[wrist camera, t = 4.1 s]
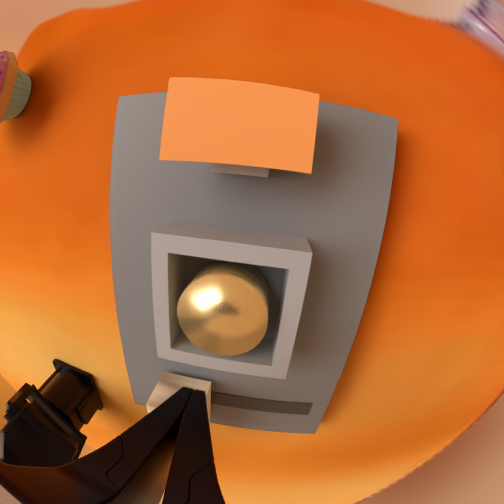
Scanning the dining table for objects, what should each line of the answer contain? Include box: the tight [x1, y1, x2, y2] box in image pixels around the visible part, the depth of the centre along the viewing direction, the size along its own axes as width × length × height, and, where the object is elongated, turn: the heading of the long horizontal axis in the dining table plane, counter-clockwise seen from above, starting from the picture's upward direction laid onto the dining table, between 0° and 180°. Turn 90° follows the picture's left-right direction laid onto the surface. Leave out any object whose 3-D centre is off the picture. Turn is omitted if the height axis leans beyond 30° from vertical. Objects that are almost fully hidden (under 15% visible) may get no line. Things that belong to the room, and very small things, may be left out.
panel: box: [110, 92, 398, 434], centre depth 18 cm, size 18×27×5 cm, turn 174°
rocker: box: [159, 77, 320, 174], centre depth 12 cm, size 7×4×1 cm, turn 84°
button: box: [177, 260, 270, 356], centre depth 16 cm, size 5×5×3 cm
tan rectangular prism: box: [146, 371, 211, 422], centre depth 19 cm, size 4×5×4 cm
